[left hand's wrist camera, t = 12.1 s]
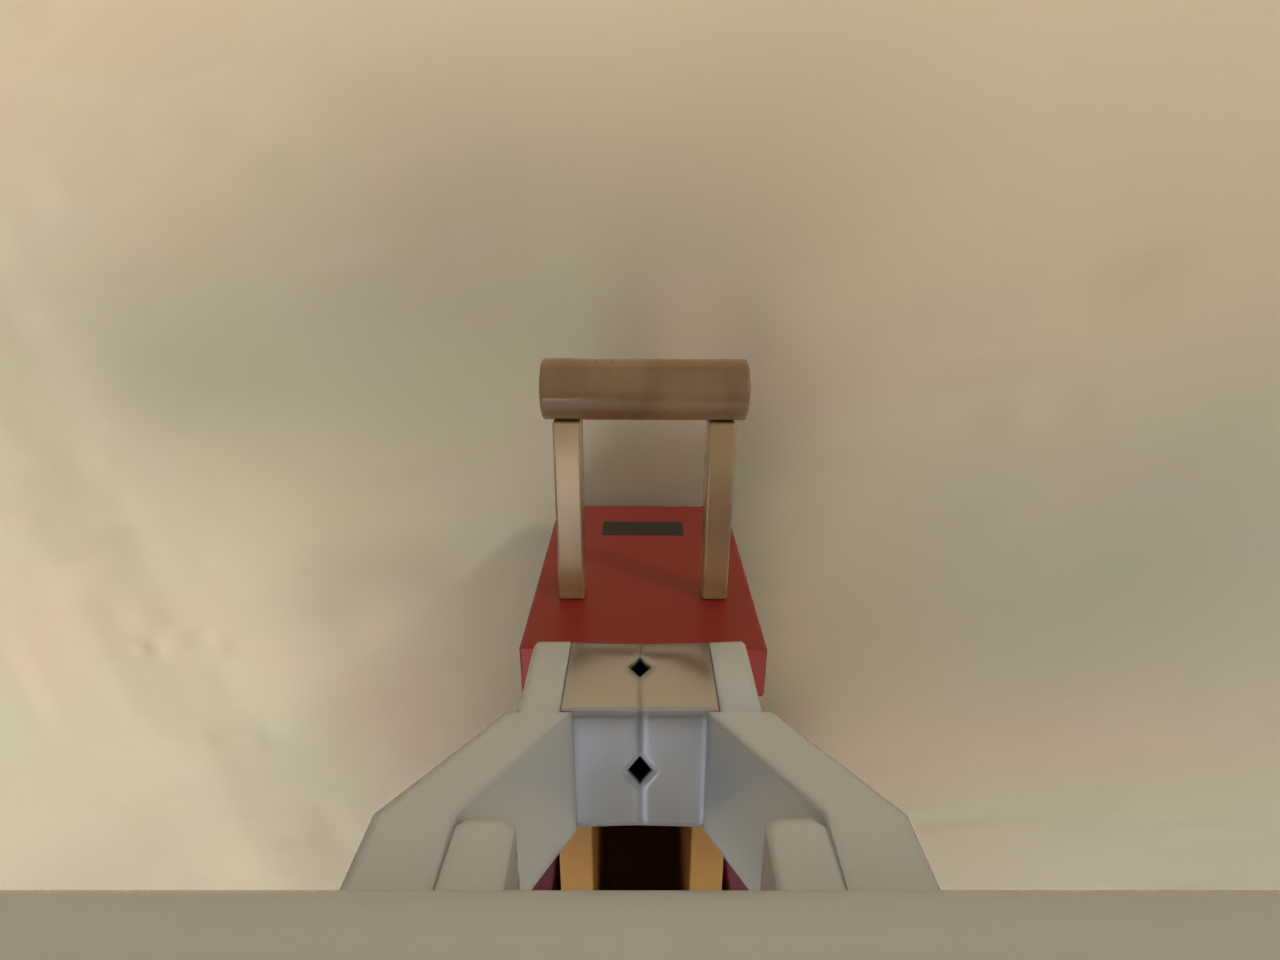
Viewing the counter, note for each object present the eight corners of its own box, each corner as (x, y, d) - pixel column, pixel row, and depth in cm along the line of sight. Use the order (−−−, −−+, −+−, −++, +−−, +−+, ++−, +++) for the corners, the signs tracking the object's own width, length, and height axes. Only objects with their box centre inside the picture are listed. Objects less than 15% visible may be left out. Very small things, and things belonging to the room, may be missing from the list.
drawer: (552, 322, 20) (502, 382, 13) (735, 323, 20) (788, 383, 13) (575, 934, 28) (552, 1181, 21) (703, 934, 28) (725, 1181, 21)
